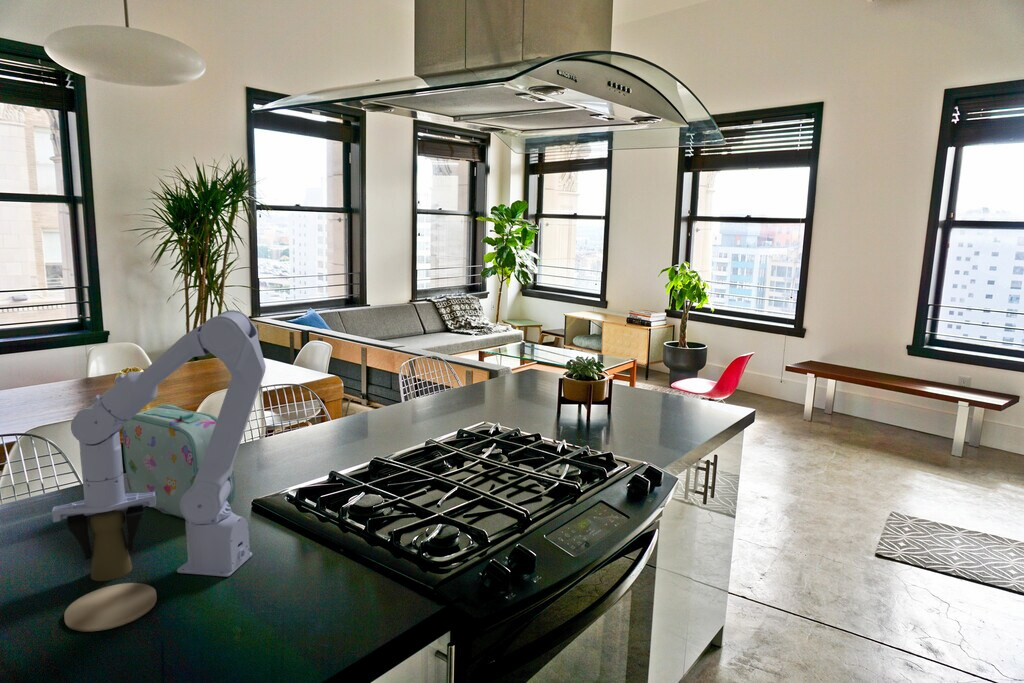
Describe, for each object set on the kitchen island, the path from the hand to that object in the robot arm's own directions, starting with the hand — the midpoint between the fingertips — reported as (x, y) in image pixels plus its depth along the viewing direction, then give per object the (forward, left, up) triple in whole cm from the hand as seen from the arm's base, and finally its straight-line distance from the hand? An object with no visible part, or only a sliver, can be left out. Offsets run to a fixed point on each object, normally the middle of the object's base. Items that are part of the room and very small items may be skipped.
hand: (110, 552), depth 111 cm
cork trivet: (-8, +10, -3) cm, 13 cm away
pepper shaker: (0, 0, -4) cm, 4 cm away
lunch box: (+5, -27, -4) cm, 28 cm away
